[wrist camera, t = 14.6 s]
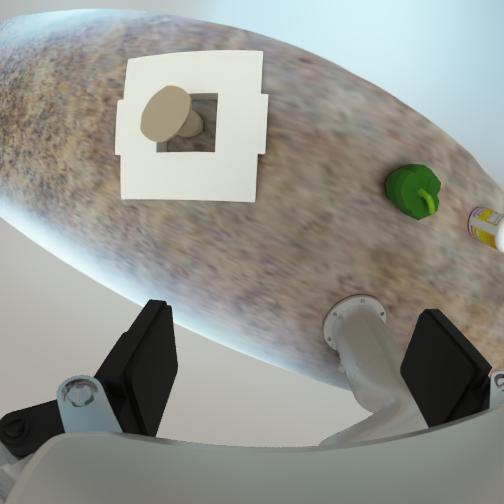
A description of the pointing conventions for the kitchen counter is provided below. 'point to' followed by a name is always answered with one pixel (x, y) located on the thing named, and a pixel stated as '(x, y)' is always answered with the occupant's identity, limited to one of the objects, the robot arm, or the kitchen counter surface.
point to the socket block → (227, 127)
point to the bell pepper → (414, 190)
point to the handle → (170, 116)
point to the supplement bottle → (488, 227)
